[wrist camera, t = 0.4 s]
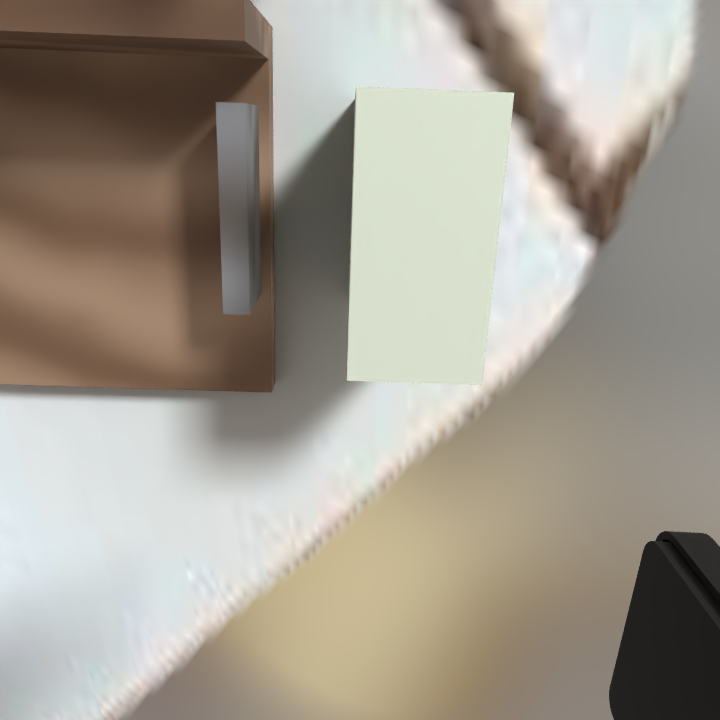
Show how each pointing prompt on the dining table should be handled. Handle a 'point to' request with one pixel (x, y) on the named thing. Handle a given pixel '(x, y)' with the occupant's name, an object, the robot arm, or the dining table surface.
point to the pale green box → (424, 232)
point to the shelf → (136, 195)
